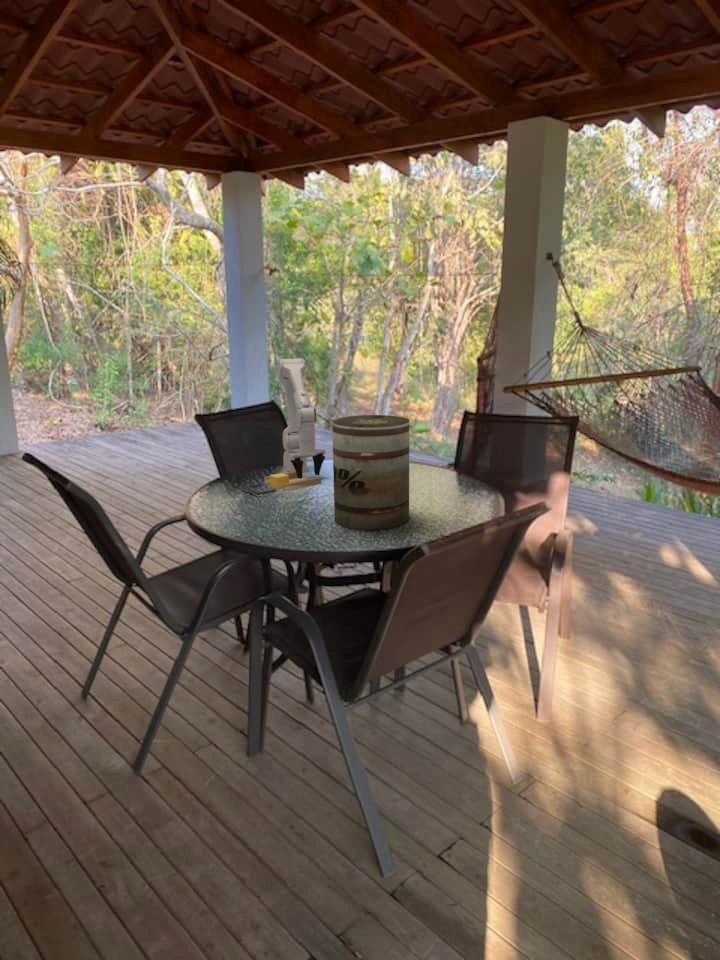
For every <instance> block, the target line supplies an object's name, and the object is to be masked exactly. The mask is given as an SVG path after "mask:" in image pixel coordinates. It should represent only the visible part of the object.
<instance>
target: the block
mask: <svg viewBox="0 0 720 960" xmlns="http://www.w3.org/2000/svg"><path fill="white" fill-rule="evenodd" d="M269 476H270V483H269V486H270V487H272V488H273V489H274V488H275V489H284V484H286V483H290V482H289V475H286V474H284V473H282V472H280V473H275V474H269Z"/></svg>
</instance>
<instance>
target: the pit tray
mask: <svg viewBox="0 0 720 960" xmlns="http://www.w3.org/2000/svg"><path fill="white" fill-rule="evenodd" d="M260 485H261V483H255V484H249V485H246V486H241V487H242V488H244V489H246V490H248V491H251V492H253V493H255V494H257V495H260V494H263V495H266V494H270V493H275V492H276V488H275V489H274V488H273V489H269V490H264V491H263V490H262V491H256V490H254V489H252V488H255V487H254V486H257V487H261V486H262V485H261V486H260ZM248 487H252V488H248ZM242 488H241V489H242Z"/></svg>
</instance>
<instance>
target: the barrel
mask: <svg viewBox="0 0 720 960" xmlns="http://www.w3.org/2000/svg"><path fill="white" fill-rule="evenodd" d="M331 423H332V425H331V430H332V431H331V433H332V434H331V435H332V466H333V467H332V469H333V473H332V474H333V500H334V501H333V503H334V504H333V507H334V508H333V509H334V522H335V524H336V523H337V524H338V526H339V525H340V526H339V527H341V526H342V527H341V528H343V527H345V528H344V529H346V528H349V529H348V530H351V529H354V530H353V531H356V530H364V531H363V532H381V531H380V530H385V531H389V529H391V530H395V529H394V528H396V529H399V528H401V527H400V526H402V527H404V526H406V525H407V524H408V523H409V522H410V419H408V418H406V417H402V416H396V415H388V414H387V415H386V414H364V415H363V414H361V415H350V416H343V417H342V416H341V417H339V418H335V419H333V420H332V421H331ZM408 521H409V522H408ZM407 522H408V523H407ZM406 523H407V524H406ZM337 524H336V525H337ZM405 524H406V525H405ZM403 525H404V526H403ZM398 527H399V528H398Z"/></svg>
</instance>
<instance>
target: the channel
mask: <svg viewBox="0 0 720 960" xmlns="http://www.w3.org/2000/svg"><path fill="white" fill-rule="evenodd" d="M283 474H286V475H289V483H286V484H284V487H283V491H285V492H286V491H293V490H296V489H297V490H298V489H301V488H306V487H313V486H316V485H321V484H322V478H321V477H320V476H317V477H311V478H306V477H304V476H302V479H300V478H298V477H297V474H296V471H294V472H285V473H283ZM263 480H264V484H265V485H266V484H270V475H268V476H264V479H263Z"/></svg>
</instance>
